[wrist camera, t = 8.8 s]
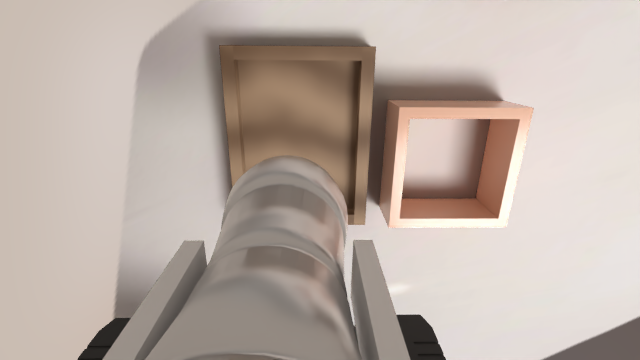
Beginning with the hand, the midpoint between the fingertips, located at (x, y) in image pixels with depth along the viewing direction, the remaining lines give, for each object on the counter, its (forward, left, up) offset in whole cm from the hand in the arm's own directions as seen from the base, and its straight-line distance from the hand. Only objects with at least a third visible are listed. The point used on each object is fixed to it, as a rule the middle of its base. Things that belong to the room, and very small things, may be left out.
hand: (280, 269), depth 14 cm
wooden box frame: (-2, -15, -23) cm, 28 cm away
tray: (0, 0, -23) cm, 23 cm away
